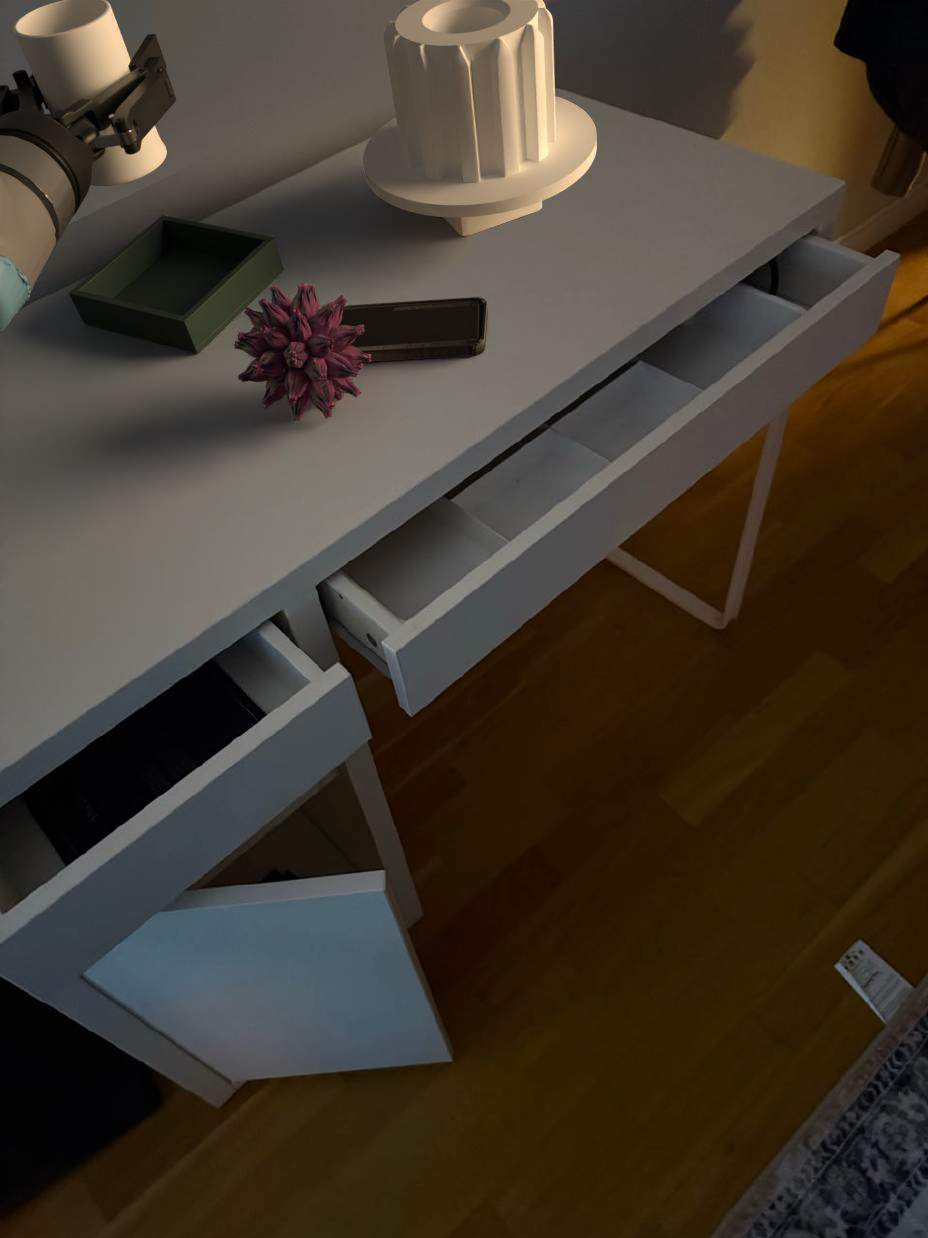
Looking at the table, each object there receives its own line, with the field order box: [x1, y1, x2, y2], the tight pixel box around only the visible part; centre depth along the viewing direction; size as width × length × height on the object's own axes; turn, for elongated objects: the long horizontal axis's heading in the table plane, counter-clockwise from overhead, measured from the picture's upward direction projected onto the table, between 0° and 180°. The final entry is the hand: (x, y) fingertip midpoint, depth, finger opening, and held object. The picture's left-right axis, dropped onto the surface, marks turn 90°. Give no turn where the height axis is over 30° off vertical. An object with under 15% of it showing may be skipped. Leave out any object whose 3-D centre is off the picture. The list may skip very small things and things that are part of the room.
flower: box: [233, 282, 372, 422], centre depth 79 cm, size 12×12×12 cm
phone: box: [339, 296, 489, 362], centre depth 88 cm, size 8×1×15 cm
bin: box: [67, 214, 285, 355], centre depth 96 cm, size 16×16×4 cm
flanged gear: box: [362, 0, 598, 237], centre depth 94 cm, size 25×25×19 cm
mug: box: [12, 0, 168, 187], centre depth 79 cm, size 12×8×12 cm
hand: (111, 55), depth 82 cm, fingers closed on mug, 8 cm apart
